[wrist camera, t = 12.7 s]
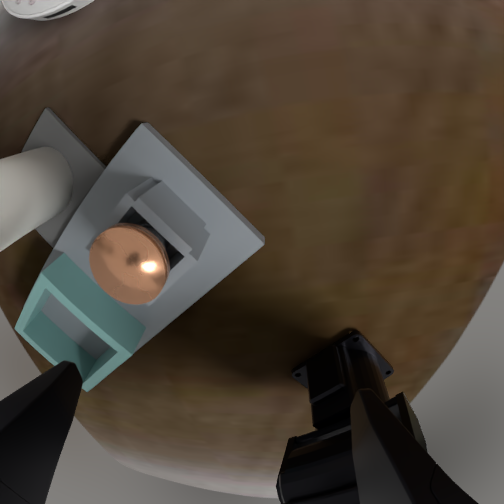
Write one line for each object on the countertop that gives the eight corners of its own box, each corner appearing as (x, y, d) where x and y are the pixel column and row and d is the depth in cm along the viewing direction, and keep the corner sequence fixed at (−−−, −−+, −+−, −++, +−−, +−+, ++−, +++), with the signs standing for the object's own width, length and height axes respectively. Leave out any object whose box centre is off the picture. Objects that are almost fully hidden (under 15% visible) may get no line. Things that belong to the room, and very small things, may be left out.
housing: (264, 237, 19) (262, 273, 15) (107, 370, 26) (89, 405, 22) (147, 122, 17) (112, 127, 13) (29, 301, 23) (2, 329, 19)
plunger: (203, 230, 18) (182, 272, 14) (162, 271, 20) (134, 317, 15) (154, 183, 17) (116, 210, 13) (117, 228, 18) (76, 265, 14)
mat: (107, 168, 18) (104, 169, 18) (55, 246, 21) (53, 248, 20) (48, 107, 16) (45, 107, 16) (6, 190, 19) (3, 191, 18)
